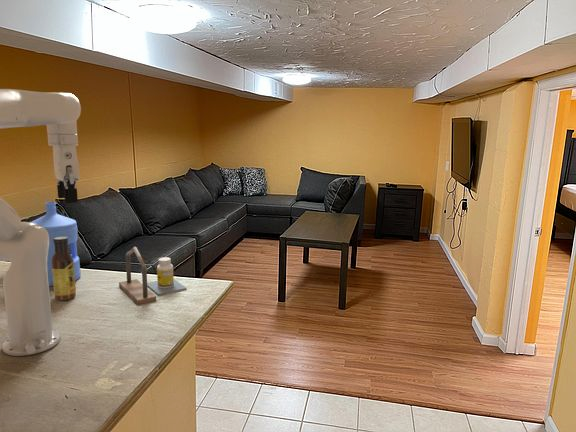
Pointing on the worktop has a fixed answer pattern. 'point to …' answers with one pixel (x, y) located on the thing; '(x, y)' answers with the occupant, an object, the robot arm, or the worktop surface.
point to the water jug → (59, 228)
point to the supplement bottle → (165, 273)
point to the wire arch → (137, 282)
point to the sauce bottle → (63, 271)
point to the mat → (162, 291)
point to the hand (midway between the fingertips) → (67, 200)
